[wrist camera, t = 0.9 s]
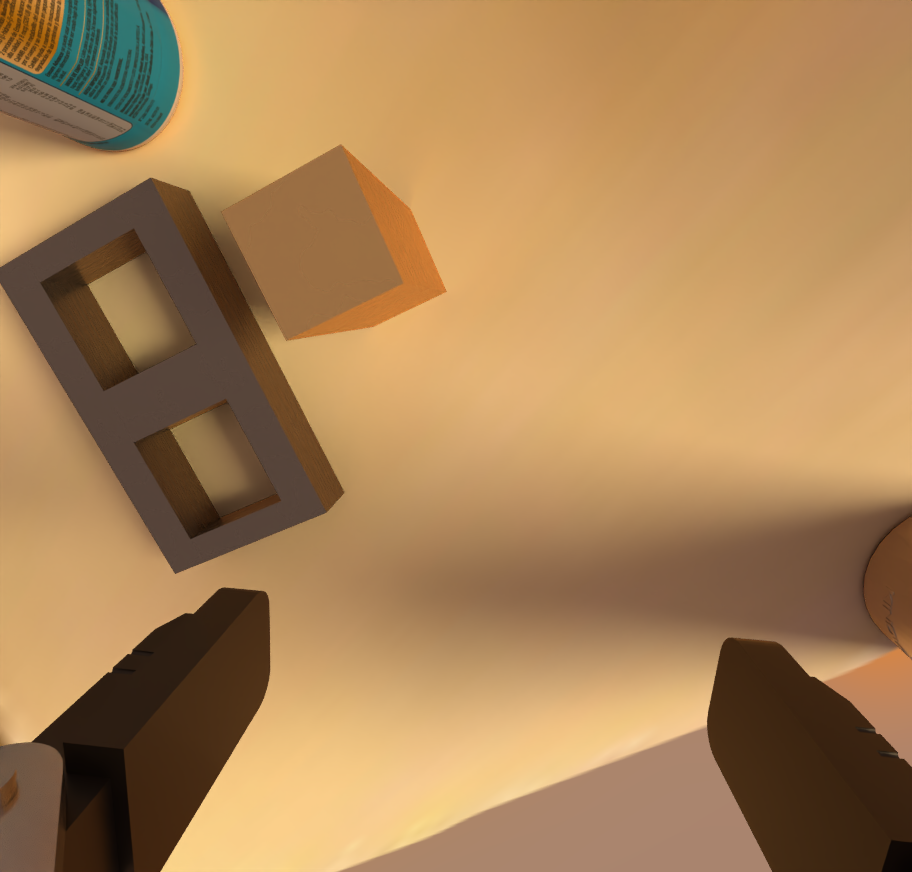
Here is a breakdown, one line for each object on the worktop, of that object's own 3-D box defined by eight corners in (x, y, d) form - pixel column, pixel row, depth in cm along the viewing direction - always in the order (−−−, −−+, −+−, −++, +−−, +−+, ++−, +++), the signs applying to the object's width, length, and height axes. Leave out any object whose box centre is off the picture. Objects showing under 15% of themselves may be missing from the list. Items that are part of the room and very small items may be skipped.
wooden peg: (410, 209, 26) (341, 144, 16) (446, 291, 27) (403, 283, 16) (335, 248, 27) (221, 211, 16) (372, 326, 28) (286, 340, 17)
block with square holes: (189, 191, 27) (150, 177, 24) (344, 492, 30) (326, 512, 27) (45, 274, 29) (-7, 271, 26) (205, 549, 32) (175, 573, 29)
